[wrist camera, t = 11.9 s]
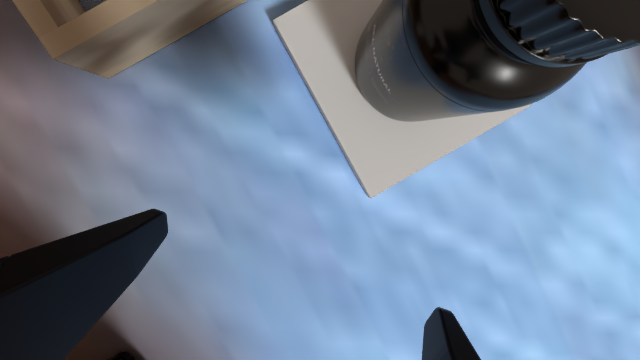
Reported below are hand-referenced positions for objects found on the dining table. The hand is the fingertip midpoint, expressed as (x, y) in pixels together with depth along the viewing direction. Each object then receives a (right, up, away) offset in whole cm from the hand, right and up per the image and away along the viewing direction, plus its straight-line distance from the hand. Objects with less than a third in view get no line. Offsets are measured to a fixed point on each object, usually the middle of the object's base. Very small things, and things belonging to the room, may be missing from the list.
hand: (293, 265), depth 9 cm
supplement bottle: (+6, +10, +9) cm, 14 cm away
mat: (+6, +10, +9) cm, 15 cm away
